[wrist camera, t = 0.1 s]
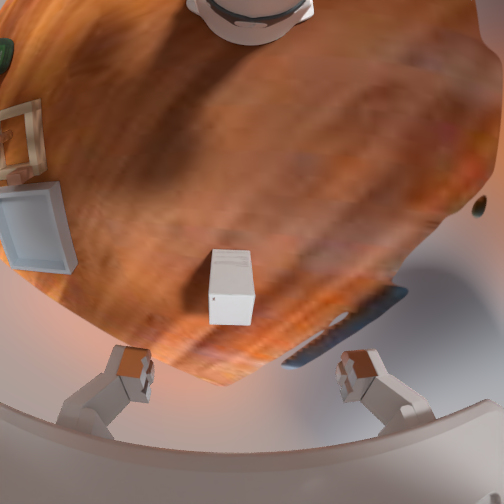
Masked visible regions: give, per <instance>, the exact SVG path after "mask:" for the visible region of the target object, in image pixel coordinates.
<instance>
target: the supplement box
mask: <svg viewBox="0 0 504 504" xmlns="http://www.w3.org/2000/svg"><path fill="white" fill-rule="evenodd" d="M254 300H255V292H254V283H253V274H252V264H251V256H250V251H246V250H222V249H213V250H212V259H211V270H210V281H209V292H208V303H209V323H210V324H218V325H250V324H251V318H252V312H253V306H254Z"/></svg>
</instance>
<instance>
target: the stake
mask: <svg viewBox="0 0 504 504" xmlns="http://www.w3.org/2000/svg"><path fill="white" fill-rule="evenodd" d="M12 136H13V132H12V130H7V131H5V132H2V133H0V144H1V143H3V142H5V141H7V140H9V139H11V138H12Z"/></svg>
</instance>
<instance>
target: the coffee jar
mask: <svg viewBox="0 0 504 504" xmlns="http://www.w3.org/2000/svg"><path fill="white" fill-rule="evenodd" d="M13 51H14V43H13V41H12V40H11V39H8V38H0V74H2V73H4V72H5V71H6V70H7V68H8V67H9V64H10V62H11V59H12V56H13Z"/></svg>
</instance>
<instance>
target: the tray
mask: <svg viewBox="0 0 504 504" xmlns="http://www.w3.org/2000/svg"><path fill="white" fill-rule="evenodd" d="M0 240H1V242H2V245H3V248H4V251H5V253H6V256H7V259H8V261H9V264H10V266H11V269H19V270H28V271H38V272H49V273H59V274H72V272H73V271H74V269H75V268H76V266H77V264H78V260H77V257H76V253H75V250H74V246H73V242H72V238H71V235H70V230H69V226H68V222H67V218H66V213H65V208H64V204H63V199H62V193H61V188H60V182H59V181H52V182H40V183H29V184H21V185H12V186H3V187H0Z"/></svg>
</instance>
